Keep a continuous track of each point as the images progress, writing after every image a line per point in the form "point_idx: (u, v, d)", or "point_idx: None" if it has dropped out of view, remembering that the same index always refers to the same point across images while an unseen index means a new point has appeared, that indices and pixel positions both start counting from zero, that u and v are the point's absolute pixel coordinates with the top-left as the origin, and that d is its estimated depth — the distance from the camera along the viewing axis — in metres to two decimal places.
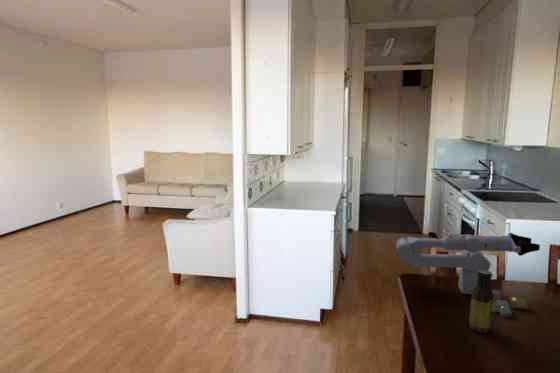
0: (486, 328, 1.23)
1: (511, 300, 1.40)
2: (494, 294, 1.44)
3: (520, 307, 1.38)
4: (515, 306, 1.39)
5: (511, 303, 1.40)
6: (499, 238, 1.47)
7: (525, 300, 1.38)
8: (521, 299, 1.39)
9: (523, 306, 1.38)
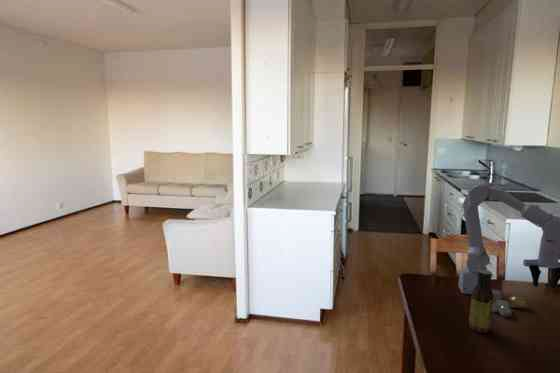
0: (486, 328, 1.23)
1: (511, 299, 1.40)
2: (494, 294, 1.44)
3: (520, 305, 1.39)
4: (515, 304, 1.39)
5: (510, 302, 1.40)
6: (548, 255, 1.32)
7: (524, 298, 1.39)
8: (520, 298, 1.40)
9: (523, 304, 1.38)
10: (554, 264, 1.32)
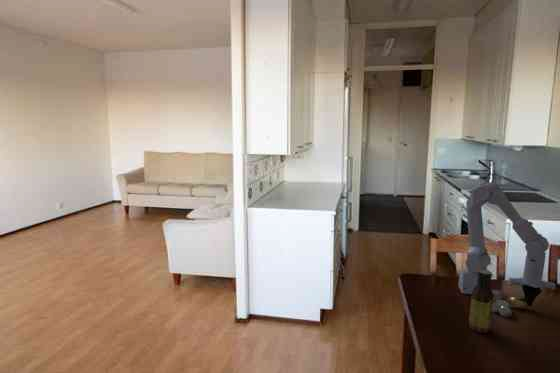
0: (486, 328, 1.23)
1: (510, 299, 1.40)
2: (494, 294, 1.44)
3: (519, 306, 1.39)
4: (514, 305, 1.39)
5: (510, 303, 1.40)
6: (532, 274, 1.35)
7: (523, 299, 1.39)
8: (519, 298, 1.39)
9: (522, 304, 1.38)
10: (538, 283, 1.35)
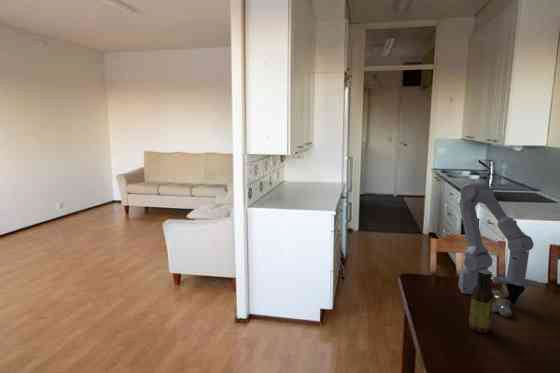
0: (486, 328, 1.23)
1: None
2: (494, 294, 1.44)
3: None
4: None
5: None
6: (515, 272, 1.36)
7: (507, 297, 1.40)
8: (503, 296, 1.40)
9: None
10: (521, 282, 1.36)
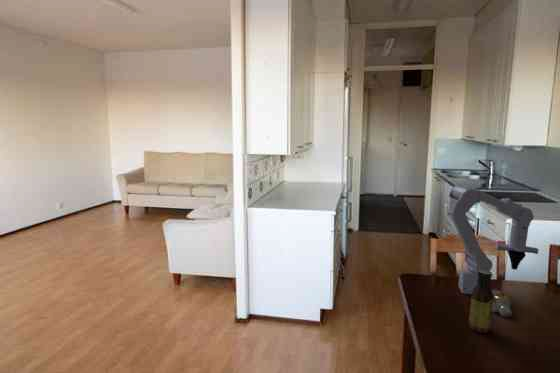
0: (486, 328, 1.23)
1: None
2: (494, 294, 1.44)
3: None
4: None
5: None
6: (516, 240, 1.48)
7: (508, 298, 1.39)
8: (504, 297, 1.40)
9: None
10: (522, 248, 1.48)
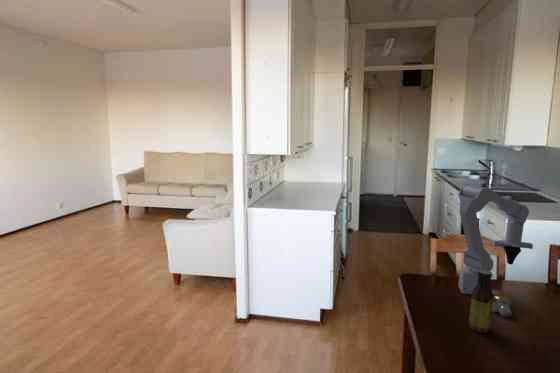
0: (486, 328, 1.23)
1: None
2: (494, 294, 1.44)
3: None
4: None
5: None
6: (513, 236, 1.53)
7: (508, 300, 1.39)
8: (504, 298, 1.39)
9: None
10: (518, 243, 1.53)
